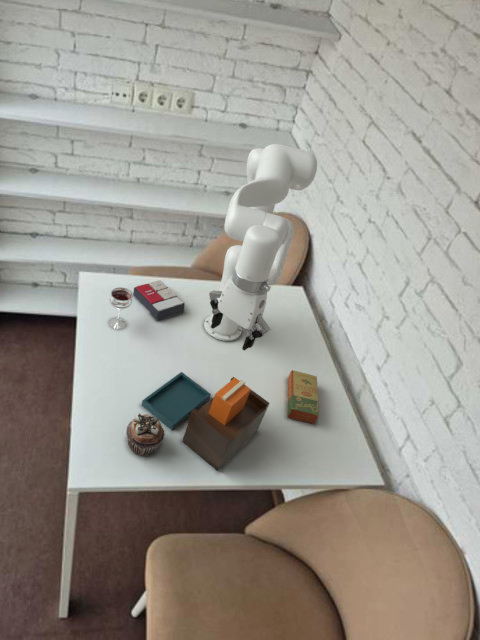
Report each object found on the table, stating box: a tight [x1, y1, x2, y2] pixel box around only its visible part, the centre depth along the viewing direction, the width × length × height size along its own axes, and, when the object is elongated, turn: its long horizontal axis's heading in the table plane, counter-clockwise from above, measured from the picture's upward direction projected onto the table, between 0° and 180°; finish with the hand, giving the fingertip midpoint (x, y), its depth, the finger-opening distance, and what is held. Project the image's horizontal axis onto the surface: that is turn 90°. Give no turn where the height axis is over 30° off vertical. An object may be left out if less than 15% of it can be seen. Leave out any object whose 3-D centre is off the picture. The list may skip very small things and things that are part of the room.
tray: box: [141, 371, 212, 431], centre depth 149 cm, size 17×11×2 cm
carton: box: [286, 369, 320, 425], centre depth 158 cm, size 8×16×4 cm, turn 171°
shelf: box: [181, 376, 270, 472], centre depth 139 cm, size 18×12×12 cm, turn 140°
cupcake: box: [125, 413, 165, 457], centre depth 134 cm, size 10×10×10 cm
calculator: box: [132, 279, 186, 321], centre depth 180 cm, size 11×4×15 cm
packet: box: [209, 377, 252, 426], centre depth 135 cm, size 8×5×8 cm, turn 140°
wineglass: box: [109, 286, 134, 330], centre depth 166 cm, size 7×7×12 cm
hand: (230, 336), depth 129 cm, fingers open, 9 cm apart
